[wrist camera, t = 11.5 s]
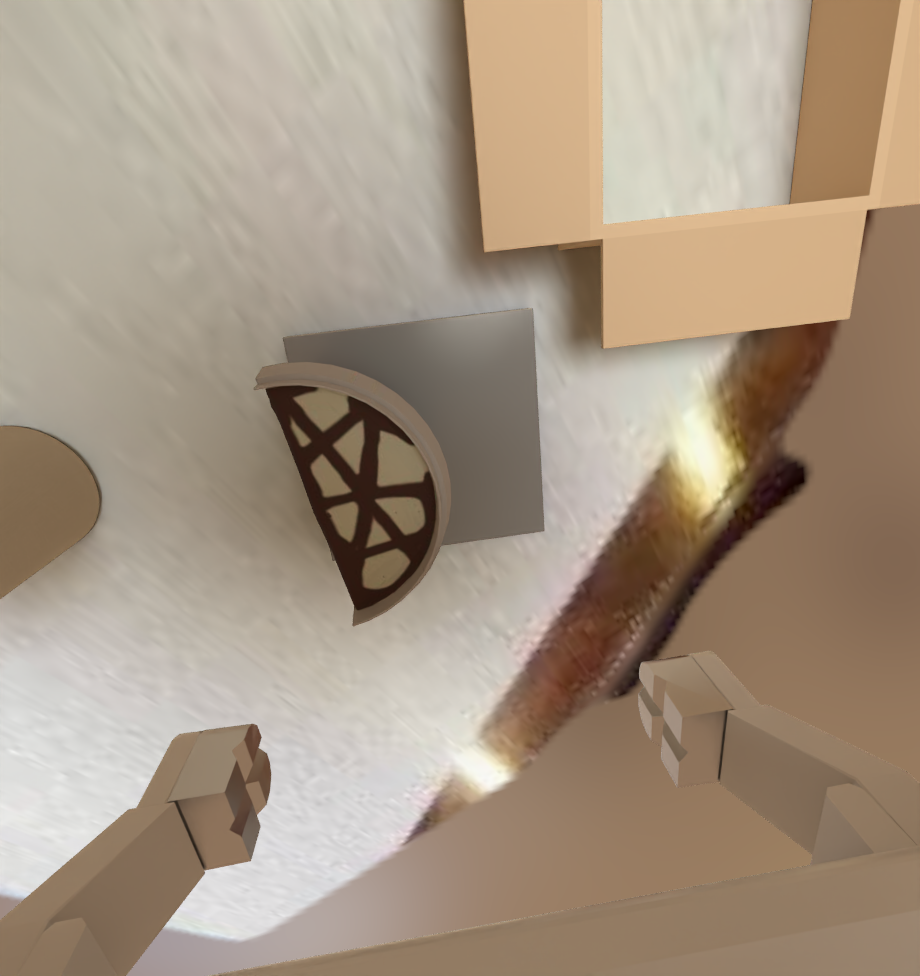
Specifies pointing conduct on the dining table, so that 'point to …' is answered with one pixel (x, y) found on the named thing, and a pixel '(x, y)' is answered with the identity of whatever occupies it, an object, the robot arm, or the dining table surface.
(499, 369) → the slate board
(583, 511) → the dining table surface
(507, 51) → the carton
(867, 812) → the robot arm
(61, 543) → the travel mug
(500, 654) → the dining table surface
